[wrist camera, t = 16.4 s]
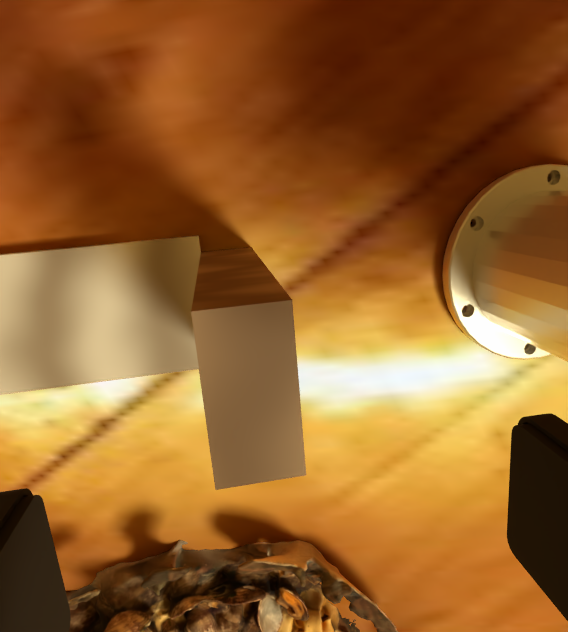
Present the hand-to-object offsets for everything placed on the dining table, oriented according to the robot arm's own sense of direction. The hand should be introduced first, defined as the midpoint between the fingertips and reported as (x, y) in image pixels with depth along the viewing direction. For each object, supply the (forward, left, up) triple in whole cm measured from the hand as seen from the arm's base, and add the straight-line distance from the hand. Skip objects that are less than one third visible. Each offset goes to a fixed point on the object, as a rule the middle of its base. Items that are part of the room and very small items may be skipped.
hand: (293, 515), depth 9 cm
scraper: (+7, +5, -21) cm, 23 cm away
